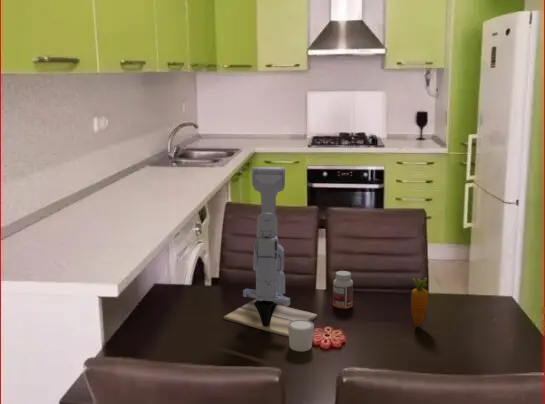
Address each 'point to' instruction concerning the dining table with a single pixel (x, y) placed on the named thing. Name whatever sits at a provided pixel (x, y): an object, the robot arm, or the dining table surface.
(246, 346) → the dining table surface
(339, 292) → the pill bottle
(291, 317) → the laid plank
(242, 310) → the oak plank
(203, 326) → the dining table surface
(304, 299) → the dining table surface
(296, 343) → the white cup
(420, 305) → the carrot
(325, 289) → the dining table surface
